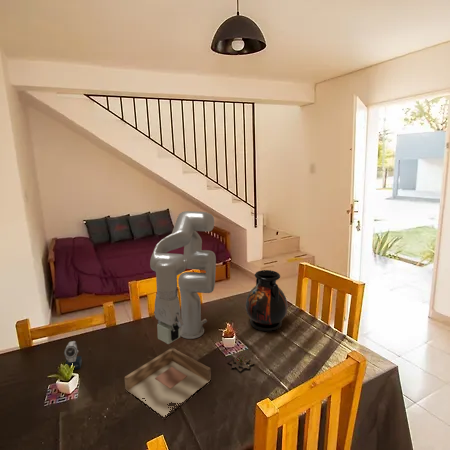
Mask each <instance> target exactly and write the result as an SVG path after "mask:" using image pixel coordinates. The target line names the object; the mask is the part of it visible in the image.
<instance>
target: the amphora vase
mask: <svg viewBox="0 0 450 450" xmlns="http://www.w3.org/2000/svg"><path fill="white" fill-rule="evenodd" d="M254 277H255V279H256V281H255V286H254V287H252V289H251V290H250V291H249V292H248V294H247V297H246V301H245V312H246V314H247V316H248V317H249V318H250V321H249V322H250V325H251V327H253V328H254V329H256V330H258V331H261V330H262V332H273V331H272V330H275V331H277V330H279V329H280V328H281V327H282V324H283V320H284V319H285V317H286V315H287V313H288V307H289V306H288V299H287V297H286V295H285V293H284V291H283V290H282V289H281V288H280V287H279V285H278V284H277V281H278V280H280V278H281V274H280V273H279V272H278V271H274V270H271V269H270V270H269V269H263V270H262V269H261V270H258V271H256V272H255V274H254ZM280 326H281V327H280ZM279 327H280V328H279ZM278 328H279V329H278ZM276 329H277V330H276Z"/></svg>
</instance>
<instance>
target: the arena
mask: <svg viewBox="0 0 450 450" xmlns="http://www.w3.org/2000/svg"><path fill="white" fill-rule="evenodd" d="M211 371H212V368H211V367H209V366H207V365H205V364H203V363H202V362H200V361H198V360H196V359H195V358H192V357H191V356H188V355H186V354H185V353H183V352H181V351H179V350H177V349H176V348H174V347H170V348H169V349H167V350H166V351H164V352H162V353H161V354H159V355H157V356H156V357H155V358H153V359H151V360H150V361H148V362H146V363H145V364H143V365H140V367H138V368H137V369H135V370H134V371H132V372H130V373H129V374H127V375H125V376H124V389H126V390H127V391H128V392H130V393H131V394H133V395H134V396H136V397H137V398H139V399H140V400H141V401H143V402H144V403H145V404H147V405H148V406H149V407H151V408H152V409H153V410H154V411H156V412H157V413H159V414H160V415H161V416H163V417H165V415H166V416H167V414H168V413H170V412H169V411H171V410H172V407H173V408H174V406H168V405H169V403H171V402H172V403H176V405H177V406H178V404H179V403H182V402H184V401H185V400H186V399H188V398H189V397H190V396H191V395H193V394H194V393H195V392H196V391H197V390H199V389H200V388H202V387H203V386H204V385H205V384H206V383H208V382H209V381H210V380H211V381H212V379H211V378H212V377H211V376H212V372H211ZM208 384H209V383H208ZM202 389H203V388H202ZM127 391H126V392H127ZM128 392H127V393H128ZM131 394H130V395H131ZM142 398H145V399H142ZM145 400H146V401H145ZM177 403H178V404H177ZM167 404H168V405H167ZM176 405H175V406H176ZM179 405H180V404H179ZM168 407H169V408H168ZM170 407H171V408H170ZM175 408H176V407H175ZM170 409H171V410H170ZM173 410H174V409H173Z"/></svg>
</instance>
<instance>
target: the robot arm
mask: <svg viewBox="0 0 450 450" xmlns="http://www.w3.org/2000/svg"><path fill="white" fill-rule="evenodd" d="M214 227H215V218H214V215H213V214H212V213H210V212H206V211H197V210H196V211H195V210H194V211H192V210H191V211H190V210H187V211H186V210H185V211H181V212H180V213H179V214H178V216H177V218H176V220H175V223H174V226H173V228H172V232H171V233H170V234H168V235H167V236H165V237H163V238H162V239H161V240H160V241H159V242H157V244H155V247H154V248H153V252H152V254H151V257H150V260H149V267H150V269H151V270H152V271H153V272H155V280H156V295H155V299H154V312H153V314H154V318H155V319H156V320H157V324H159V323H161V322H163V323H166V324H168V325H170V326H171V328H172V331H171V340H172V341H173V342H174V340H175V339H176V340H178V339H179V338H178V337H179V333H178V329H179V328H180V338H181V337H182V338H183V339H187V340H192V339H193V340H194V339H198V338H200V337H201V336H202V335H204V333H205V328H204V326H203V325H204V324H206V323H207V322H208V320H207V319H206V318H204V319H202V316H201V315H202V313H201V312H202V311H201V309H202V306H201V296H200V295H199V294H211V293H213V292H214V290H215V285H216V272H217V271H216V270H217V257H216V253H215V252H214V251H212V250H209V249H208V250H207V249H203V248H202V245H203V240H202V236H200V234H199V233H198V232H211V231H213V229H214ZM179 248H180V249H181V248H183V254H182V253H169V252H170V251H174V250H177V249H179ZM202 249H203V250H202ZM186 270H198V271H201V270H202V271H204V272H198V271H197V272H195V271H186ZM178 275H179V277H178ZM178 288H179V293H180V300H179V296H178ZM174 324H176V326H175V327H174ZM177 338H178V339H177ZM176 340H175V341H176Z"/></svg>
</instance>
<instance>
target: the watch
mask: <svg viewBox="0 0 450 450" xmlns="http://www.w3.org/2000/svg"><path fill="white" fill-rule="evenodd" d="M78 353H79V350H78V345H77V342H76V341H75V340H73V341H69V342H68V343H67V345H66V347H65V349H64V352H63V354H64V357H65V359H66V361H65V364H68V365H69V366H71V365H72V363H73V365H74V366H75V370H79V369H81V368H82V367H81V366H82V363H83V360H82V355H80V356H79V355H78ZM77 355H78V356H77ZM65 364H64V365H65Z"/></svg>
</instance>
